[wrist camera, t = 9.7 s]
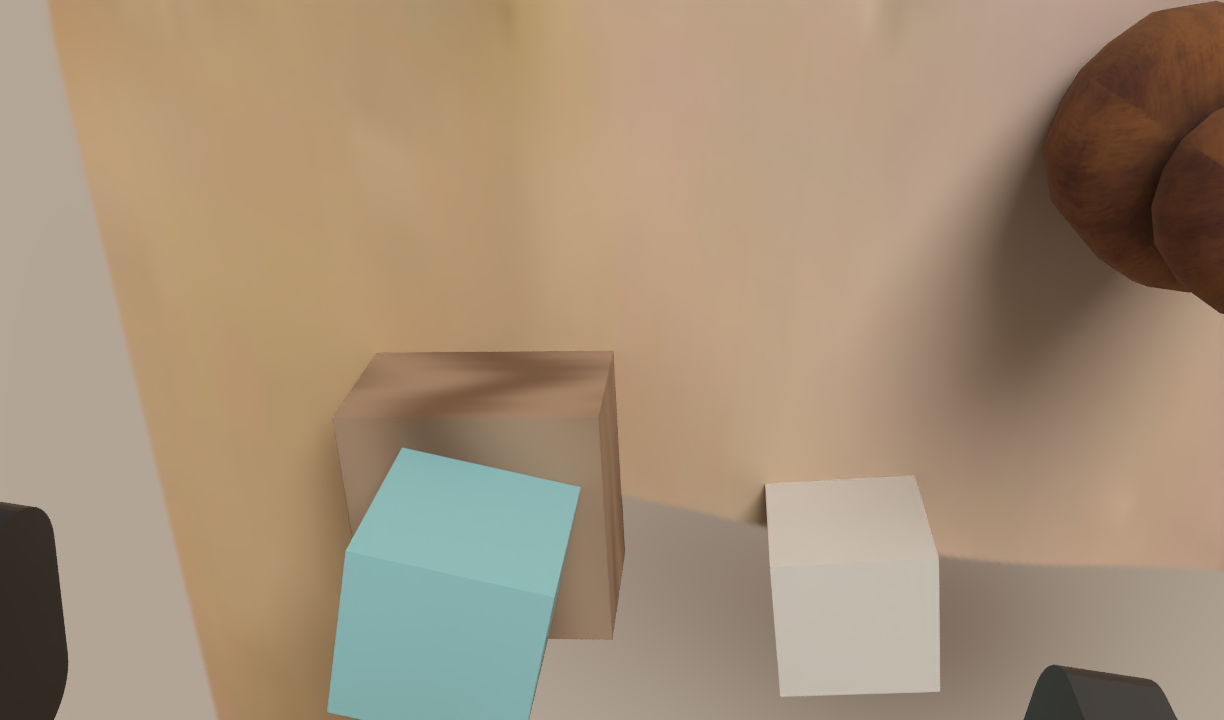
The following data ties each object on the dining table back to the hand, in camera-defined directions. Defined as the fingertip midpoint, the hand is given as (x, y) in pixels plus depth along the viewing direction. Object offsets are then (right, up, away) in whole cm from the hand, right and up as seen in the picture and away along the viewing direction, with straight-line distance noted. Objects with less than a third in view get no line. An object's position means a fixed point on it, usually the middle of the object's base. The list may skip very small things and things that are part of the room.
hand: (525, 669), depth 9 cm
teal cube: (-3, -3, +26) cm, 27 cm away
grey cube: (+9, -4, +31) cm, 32 cm away
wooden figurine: (+16, +10, +24) cm, 30 cm away
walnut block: (-3, -1, +31) cm, 31 cm away
